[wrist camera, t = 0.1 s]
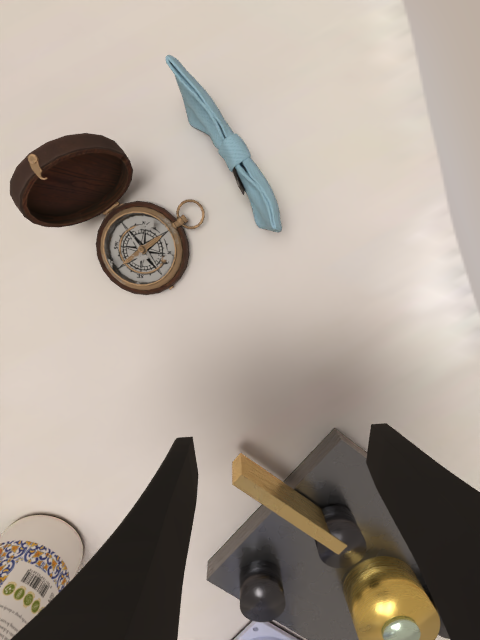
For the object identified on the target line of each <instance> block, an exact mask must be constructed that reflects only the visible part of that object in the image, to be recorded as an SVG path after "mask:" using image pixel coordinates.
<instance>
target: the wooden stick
mask: <svg viewBox="0 0 480 640" xmlns="http://www.w3.org/2000/svg"><path fill="white" fill-rule="evenodd" d="M232 485H234V486H235V487H237V488H238V489H240V490H242V491H243V492H245V493H246V494H248V495H249V496H251V497H252V498H254V499H255V500H257V501H258V502H260V503H261V504H263V505H264V506H266V507H267V508H269V509H270V510H272V511H273V512H275V513H276V514H278V515H279V516H281V517H282V518H284V519H285V520H287V521H288V522H290V523H291V524H293V525H294V526H296V527H297V528H299V529H300V530H302V531H303V532H305V533H306V534H308V535H309V536H311V537H312V538H314V540H315V543H316V547H317V550H318V554H319V557H320V559H321V560H322V561H323V562H324V563H325V564H326V565H328V566H330V567H333V568H347V567H350V566H353V565H355V564H356V563H358V562H359V561H360V560H361V559H362V558H363V557H364V555H365V553H366V548H367V545H366V541H365V539H364V537H363V535H362V532H361V530H360V528H359V526H358V524H357V522H356V520H355V518H354V516H353V514H352V513H351V511H349V510H348V509H347V508H345V507H342V506H329V507H325V508H323V509H321V508H320V507H318V506H317V505H316V504H314V503H313V502H311V501H310V500H308V499H307V498H305V497H304V496H302V495H301V494H300V493H298V492H297V491H295V490H294V489H292V488H291V487H289V486H288V485H287V484H285V483H284V482H282V481H281V480H279V479H278V478H276V477H275V476H273V475H272V474H271V473H269V472H268V471H266V470H265V469H263V468H262V467H260V466H259V465H258V464H256V463H255V462H253V461H252V460H250V459H249V458H247V457H246V456H244V455H243V454H242V453H240V454H239V455H238V456H237V458H236V459H235V460H234V461H233V462H232Z"/></svg>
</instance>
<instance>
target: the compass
mask: <svg viewBox="0 0 480 640" xmlns="http://www.w3.org/2000/svg"><path fill="white" fill-rule="evenodd" d="M132 173H133V169H132V166H131V163H130V160H129V159H128V157H127V156H126V154H125V153H124V151H123V150H122V149H121V148H120V147H119V146H118V145H117V143H116V142H115V141H113V140H111V139H109V138H106V137H104V136H102V135H95V134H88V133H83V134H75V135H66V136H64V137H61V138H58V139H55V140H52V141H49V142H47V143H45V144H44V145H42V146H40V147H39V148H37V149H36V150H34V151H32V152H31V153H29V154H28V155H27V156H26V158H25V159H24V160H23V161H22V162H21V163H20V164H19V165H18V166H17V167H16V169H15V172H14V174H13V176H12V178H11V180H10V195H11V197H12V199H13V201H14V203H15V205H16V206H17V207H18V209H19V210H20V211H21V213H22V214H23V216H24V217H26V218H27V219H28V220H30V221H31V222H32V223H34V224H38V225H41V226H45V227H64V226H71V225H75V224H78V223H82V222H85V221H87V220H90V219H92V218H94V217H96V216H98V215H100V214H101V213H103V214H104V215H106V214H107V213H109V214H108V215H107V216H106V217H105V218H104V220H103V222H102V224H101V226H100V228H99V230H98V234H97V241H96V248H97V256H98V259H99V262H100V264H101V267H102V269H103V271H104V272H105V273H106V275H107V276H108V277H109V278H110V280H111V281H112V282H114V283H115V284H116V285H118V286H119V287H120V288H122V289H124V290H126V291H129V292H131V293H134V294H143V295H149V294H155V293H160V292H162V291H164V290H166V289H168V288H169V289H172V288H173V287H174V286H173V285H174V284H175V283H176V282H177V281H178V280H179V279H180V278H181V276H182V274H183V273H184V271H185V269H186V267H187V262H188V258H189V246H188V240H187V237H186V234H185V232H184V229H183V228H182V226H183V227H185V228H188V229H195V228H197V227H199V226H200V225H201V224H202V223H203V220H204V209H203V207H202V205H201V204H200V203H199V202H197V201H195V200H185V201H183V202H181V204H180V205H179V206H178V208H177V211H176V213H177V219H176V218H175V217H174V216H172V215H171V214H170V213H169V212H168V211H166V210H165V209H164V208H162V207H159V206H157V205H155V204H153V203H148V202H140V201H136V202H130V203H125V204H121V205H119V204H120V203H119V202H118V200H119V199H120V198H121V197H122V196H123V194H124V193H125V192H126V191H127V189H128V187H129V185H130V182H131V180H132ZM187 202H194V203H196V204H197V205H198V206H199V207H200V208H201V210H202V219H201V221H200V222H199V224H198V225H196V226H193V227H188V226H186V225H184V223H186V222H188V220H187V219H186V217H185V216H184V215H182V216H181V217H179V210H180V207H181V206H182V205H183V204H184V203H187ZM118 205H119V206H118Z"/></svg>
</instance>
